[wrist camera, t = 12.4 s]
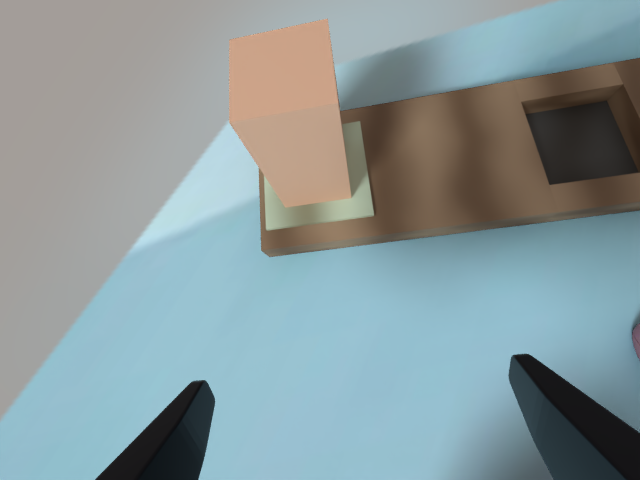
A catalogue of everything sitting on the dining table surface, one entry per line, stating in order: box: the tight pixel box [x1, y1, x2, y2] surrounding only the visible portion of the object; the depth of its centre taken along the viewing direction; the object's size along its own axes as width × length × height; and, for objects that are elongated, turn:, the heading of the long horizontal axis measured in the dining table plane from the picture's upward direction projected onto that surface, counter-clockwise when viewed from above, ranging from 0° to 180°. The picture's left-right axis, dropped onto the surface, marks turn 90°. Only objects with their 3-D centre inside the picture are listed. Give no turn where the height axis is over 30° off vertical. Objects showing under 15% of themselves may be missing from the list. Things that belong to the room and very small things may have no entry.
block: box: [229, 19, 351, 208], centre depth 20 cm, size 5×5×10 cm
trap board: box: [259, 58, 640, 257], centre depth 24 cm, size 30×11×2 cm, turn 95°
